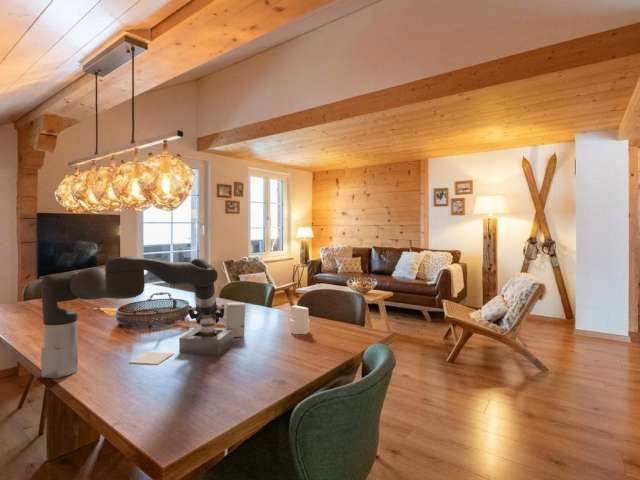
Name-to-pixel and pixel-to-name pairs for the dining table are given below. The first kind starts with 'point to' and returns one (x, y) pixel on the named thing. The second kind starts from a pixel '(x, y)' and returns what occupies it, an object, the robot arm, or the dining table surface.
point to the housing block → (206, 342)
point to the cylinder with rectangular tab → (299, 320)
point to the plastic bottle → (207, 326)
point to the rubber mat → (151, 358)
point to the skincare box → (236, 317)
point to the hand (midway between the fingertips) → (208, 321)
